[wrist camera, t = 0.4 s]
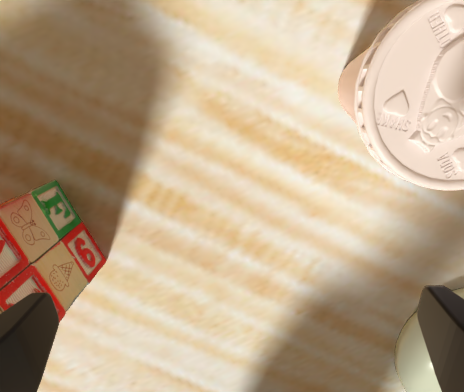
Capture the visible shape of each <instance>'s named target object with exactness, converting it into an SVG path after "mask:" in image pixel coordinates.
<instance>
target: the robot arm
mask: <svg viewBox="0 0 464 392" xmlns="http://www.w3.org/2000/svg"><path fill="white" fill-rule="evenodd" d="M417 318H418V322H419V325H420V328H421V332H422V335H423V338H424V341H425V344H426V347H427V350H428V353H429V356H430V360H431V363H432V366H433V369H434V372H435V375H436V378H437V381H438V383H439V386H440V388H441V391H442V392H464V299H463V298H462V297H460V296H459V295H457V294H456V293H454V292H453V291H451V290H450V289H448V288H447V287H445V286H443V285H427V286H425V287H424V288H423V290H422V294H421V298H420V302H419V306H418V311H417ZM58 326H59V316H58V313H57V310H56V307H55V305H54V302H53V299H52V297H51V295H50V294H49V293H47V292H36V293H31V294H29V295H27V296H26V297H24V298H23V299H21V300H20V301H18V302H17V303H16V304H14V305H13V306H11V307H10V308H8V309H7V310H5V311H4V312H2V313H1V314H0V392H37V390H38V387H39V385H40V382H41V379H42V376H43V373H44V370H45V367H46V364H47V360H48V357H49V354H50V351H51V348H52V345H53V342H54V339H55V335H56V332H57V329H58Z"/></svg>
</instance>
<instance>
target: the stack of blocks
mask: <svg viewBox="0 0 464 392" xmlns="http://www.w3.org/2000/svg"><path fill="white" fill-rule="evenodd" d="M105 263H106V259H105V257H104V256H103V254H102V253H101V251H100V249H99V248H98V246H97V245H96V243H95V241H94V240H93V238H92V236H91V235H90V233H89V232H88V230H87V229H86V227H85V225H84V224H83V223H82V222H81V220H80V219H79V217H78V215H77V214H76V212H75V210H74V209H73V207H72V205H71V204H70V202H69V201H68V199H67V197H66V196H65V194H64V192H63V191H62V189H61V188H60V186H59V184H58V182H57V181H56V180H53V181H51V182H49V183H47V184H45V185H42V186H40V187H38V188H36V189H34V190H32V191H29V192H27V193H25V194H23V195H21V196H19V197H17V198H14V199H11V200H9V201H7V202H5V203H3V204H1V205H0V314H1V313H2V312H4V311H5V310H7V309H8V308H10V307H11V306H13V305H14V304H16V303H17V302H18V301H20V300H21V299H23V298H24V297H26V296H27V295H29V294H31V293H36V292H47V293H49V294H50V295H51V297H52V299H53V302H54V305H55V307H56V310H57V313H58V316H59V322H60V321H61V320H62V318H63V317H64V316H65V313H66V311H67V310H68V309H69V308H70V306H71V305H72V304H73V302H74V301H75V299H76V298H77V297H78V296H79V294H80V293H81V292H82V291H83V290H84V288H85V287H86V286H87V285H88V284H89V283H90V282H91V280H92V279H93V278H94V277H95V275H96V274H97V272H98V271H99V270H100V269H101V268H102V267H103V265H104V264H105Z"/></svg>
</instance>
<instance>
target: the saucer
mask: <svg viewBox="0 0 464 392" xmlns="http://www.w3.org/2000/svg"><path fill="white" fill-rule="evenodd" d="M453 292H454V293H456V294H457V295H459V296H460V297H462V298H463V299H464V288H460V289H456V290H453ZM417 311H418V310H417ZM417 311H416V312H415V313H414V314H413V315H412V317H411V318H410V319H409V320H408V321H407V323H406V324H405V325H404V327H403V329H402V331H401V332H400V334H399V337H398V340H397V342H396V347H395V355H394V360H395V368H396V371H397V374H398V377H399V379H400V381H401V383H402V385H403V387H404V389H405V391H406V392H442V391H441V388H440V386H439V383H438V381H437V378H436V375H435V372H434V369H433V366H432V363H431V360H430V356H429V353H428V350H427V347H426V344H425V341H424V338H423V335H422V332H421V328H420V325H419V322H418V318H417Z"/></svg>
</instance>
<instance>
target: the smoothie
mask: <svg viewBox="0 0 464 392" xmlns="http://www.w3.org/2000/svg"><path fill="white" fill-rule="evenodd" d="M338 97H339V101H340V103H341V106H342V107H343V109H344V110H345V111H346V113H347V114H348V115H349V116H350V117H351V118H352V120H353V121H354V122H355V123H356V124H357V128H358V132H359V135H360V136H361V138H362V140H363V142H364V144H365V146H366V148H367V150H368V152H369V153H370V154H371V156H372V157H373V158H374V159H375V160H376V161H377V162H378V163H379V164H380V165H381V166H382V167H383V168H384V169H385V170H387V171H389V172H391V173H392V174H394V175H396V176H398V177H399V178H401V179H403V180H405V181H409V182H411V183H413V184H416V185H418V186H422V187H425V188H429V189H435V190H445V191H449V190H464V0H418V1H417V2H415V3H413V4H412V5H410V6H409V7H407V8H405V9H404V10H402V11H401V12H399V13H398V14H397V15H396V16H395V17H394V18H393V19H392V20H391V21H390V22H389V23H388V24H387V25H386V26H385V27H384V28H383V29H382V30H381V31H380V32H379V33H378V35H377V36H376V38H375V40H374V41H373V43H372V45H371V46H370V47H369V48H368V49H367V50H365V51H364V52H363V53H361V54H360V55H359V56H357V57H356V58H355V59H354V60H352V61H351V62H350V63H349V64H348V65H347V66H346V68H345V69H344V71H343V72H342V74H341V76H340V79H339V83H338Z"/></svg>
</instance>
